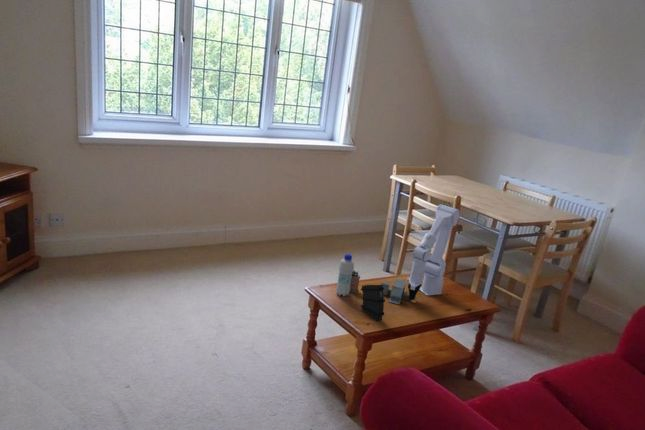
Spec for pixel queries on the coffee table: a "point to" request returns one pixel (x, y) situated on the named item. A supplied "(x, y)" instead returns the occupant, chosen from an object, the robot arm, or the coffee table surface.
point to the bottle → (345, 275)
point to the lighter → (354, 281)
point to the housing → (397, 291)
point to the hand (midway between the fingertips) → (412, 298)
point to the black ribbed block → (373, 301)
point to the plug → (388, 292)
